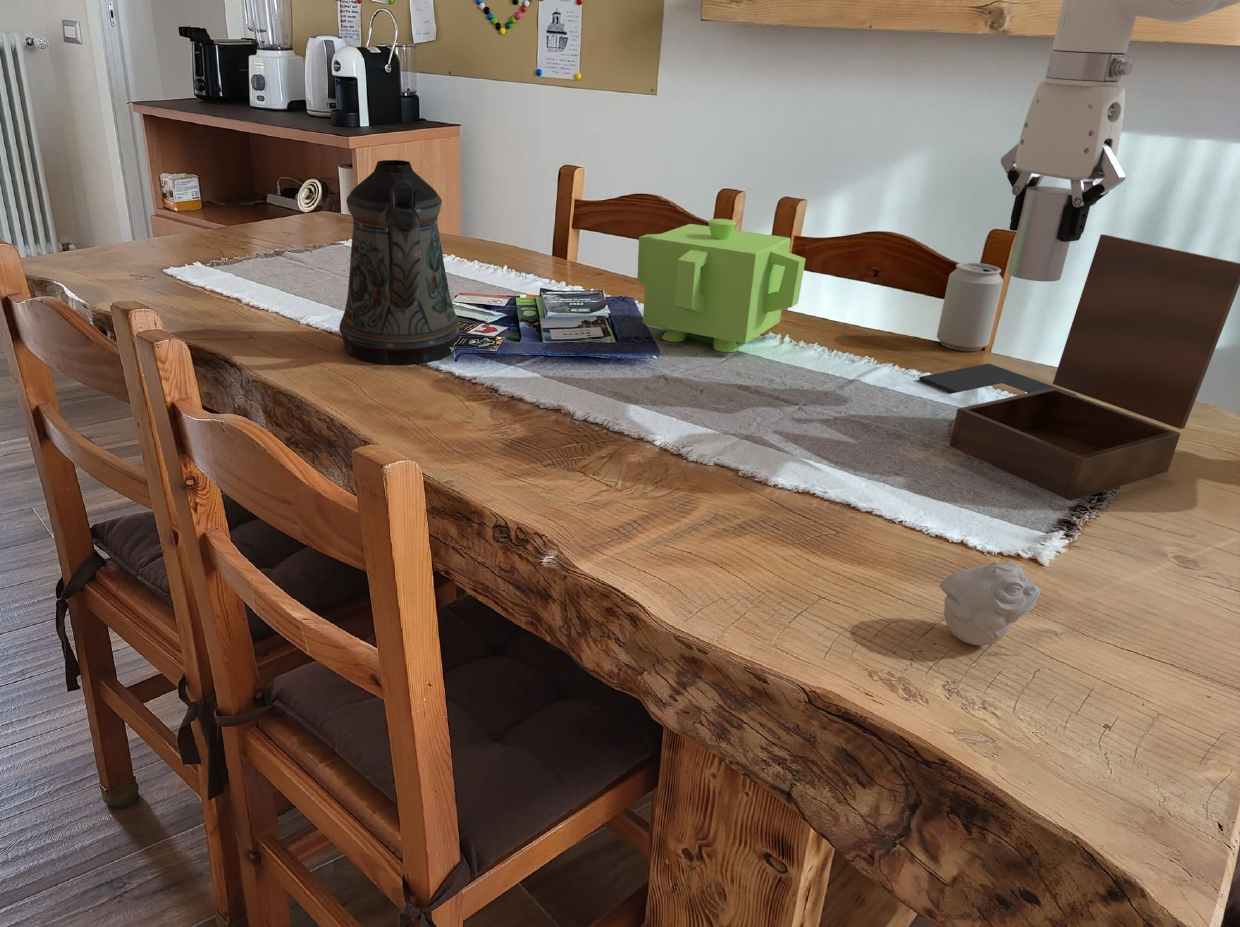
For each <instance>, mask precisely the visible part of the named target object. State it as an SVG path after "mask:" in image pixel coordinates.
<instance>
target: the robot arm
mask: <svg viewBox="0 0 1240 927" xmlns="http://www.w3.org/2000/svg"><path fill="white" fill-rule="evenodd" d="M1239 3H1240V0H1062V3H1061V7H1060V12H1059V17H1058V20H1057V26H1056V30H1055V35H1054V38H1053V43H1052V48H1051V52H1050V55H1049V60H1048V63H1047V68H1046V74H1045V78H1044V80H1043V81H1039V84H1038V86H1037V88H1036V90H1035V92H1034V95H1033V97H1032V100H1031V102H1030V104H1029V107H1028V111H1027V114H1026V116H1025V120H1024V122H1023V126H1022V129H1021V133H1020V136H1019V141H1018V142H1017V144H1015V145H1014V146H1013V147H1012V148H1011V149H1010V150H1009V151H1008V152H1006V153H1005V154H1004V155H1003V156H1002V157H1001V158H1000V164H1001V167H1002V168H1003V170H1004V172H1005V174H1006V178H1007V180H1008V183H1009V184H1010V186H1011V194H1012V195H1013V196H1014V197H1015V198H1014V202H1013V205H1012V210H1011V215H1010V223H1009V230H1010V231H1011V232H1012V231H1013V232H1017V228H1018V224H1019V220H1020V215H1021V211H1022V207H1023V202H1024V198H1025V194H1026V189H1027V188H1028V187H1032V186H1040V184H1041V182H1042V180H1043V179H1044V177H1050V178H1056V179H1063V180H1069V181H1070V189H1071V192H1072V203H1073V204H1072V206H1068V207H1067V208H1066V211H1065V215H1064V219H1063V223H1062V227H1061V231H1060V235H1059V240H1060V241H1061V242H1070V243H1071V242H1079V241H1080V240H1081V238H1082V235H1083V233H1084V231H1085V228H1086V224H1087V220H1088V216H1089V213H1090V209H1091V207H1094V206H1095V205H1096V204H1097V202H1098V201H1099V200H1101V199H1102V198H1104V197H1105V196H1106V195H1107V194H1109V193H1110V191H1112V190H1115V188H1116V187H1118V186H1119V185H1120V184H1122V183H1124V181H1125V180H1126V174H1125V172H1124V171H1123V168H1122V167H1121V165H1120V163H1119V161H1118V159H1117V155H1118V151H1119V146H1120V140H1121V136H1122V130H1123V124H1124V117H1125V105H1126V104H1125V103H1126V86H1120V85H1119V83H1120V81H1121V79H1122V77H1123V76H1130V74H1131V73H1132V71H1133V67H1134V64H1133V62H1132V61H1127V56H1128V55H1127V53H1128V49H1129V45H1130V42H1131V38H1132V35H1133V34H1132V33H1133V31H1134V27H1135V22H1136V19H1137V17H1139V18H1147V19H1153V20H1158V21H1159V20H1160V21H1164V22H1166V23H1167V22H1168V23H1173V24H1174V23H1175V24H1177V23H1178V24H1179V23H1180V24H1181V23H1186V22H1187V23H1188V22H1191V21H1193V20H1197V19H1199V18H1201V17H1204V16H1206V15H1209V14H1211V13H1214V12H1216V11H1220V10H1222V9H1225V8H1228V7H1230V6H1233V5H1237V4H1239ZM1096 180H1100V181H1099V182H1097V183H1096Z"/></svg>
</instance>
